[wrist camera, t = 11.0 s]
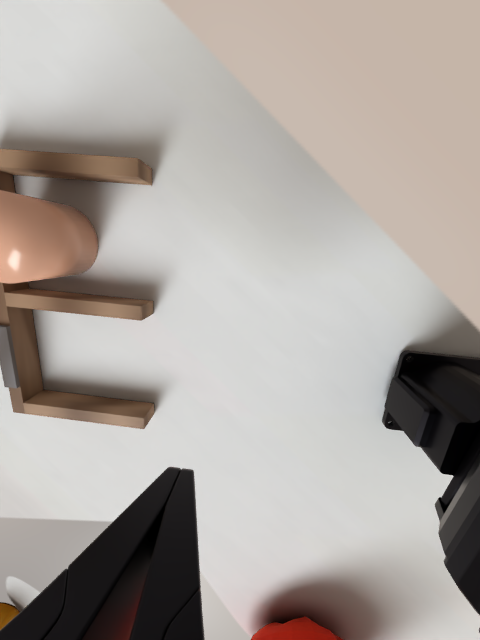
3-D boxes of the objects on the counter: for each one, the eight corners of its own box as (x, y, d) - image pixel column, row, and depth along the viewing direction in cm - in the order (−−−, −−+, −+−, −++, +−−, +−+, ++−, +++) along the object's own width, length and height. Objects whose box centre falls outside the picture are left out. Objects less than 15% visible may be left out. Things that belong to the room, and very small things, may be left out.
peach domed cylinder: (98, 209, 18) (38, 195, 13) (98, 279, 19) (44, 289, 15) (30, 199, 18) (-52, 181, 13) (35, 269, 20) (-38, 276, 15)
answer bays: (151, 168, 17) (135, 156, 15) (154, 413, 22) (142, 431, 20) (-4, 157, 18) (-42, 144, 15) (34, 398, 23) (9, 414, 21)
